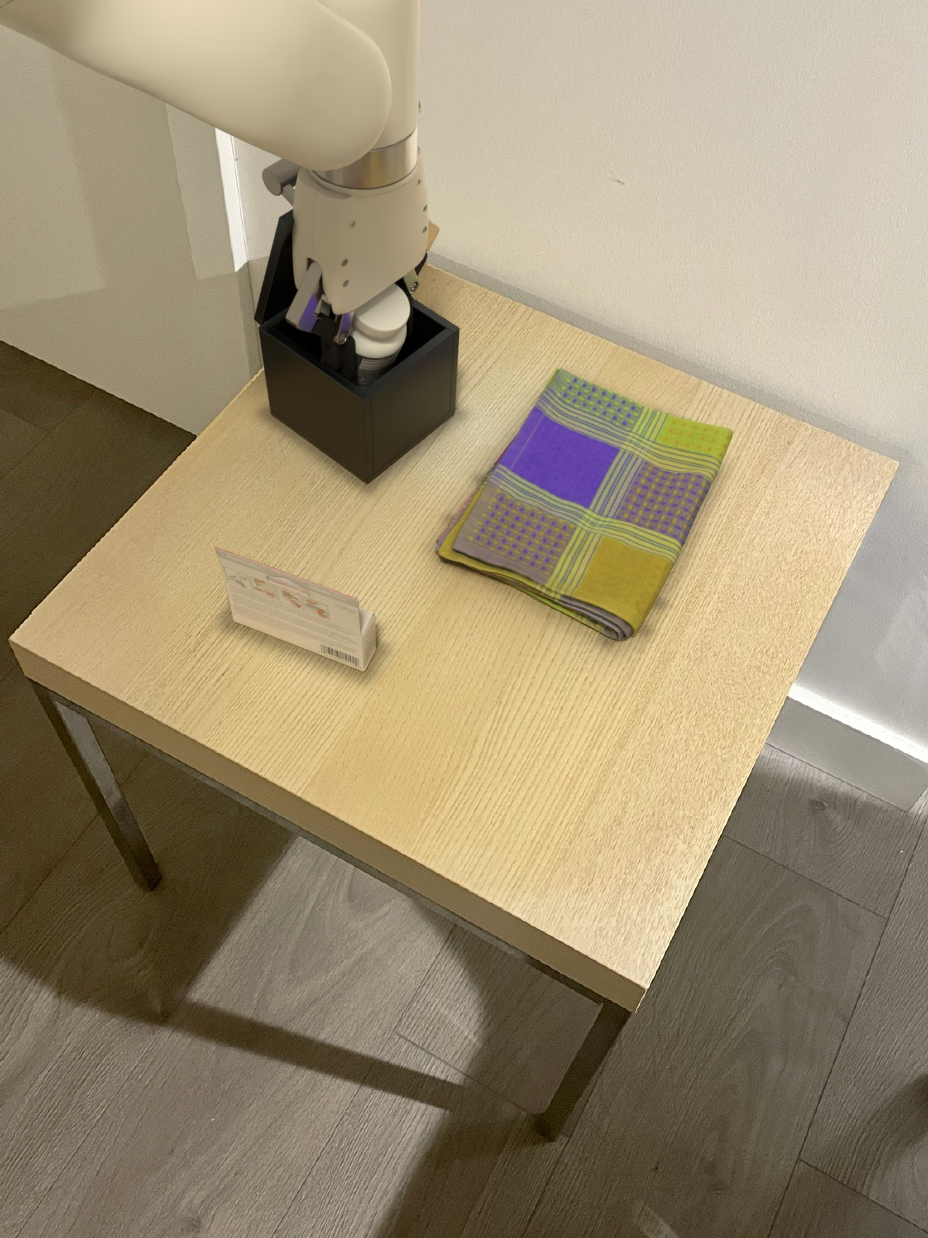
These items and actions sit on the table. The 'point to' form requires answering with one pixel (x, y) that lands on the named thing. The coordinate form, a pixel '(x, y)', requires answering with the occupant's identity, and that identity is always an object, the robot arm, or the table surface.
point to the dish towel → (589, 504)
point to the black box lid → (279, 246)
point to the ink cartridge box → (298, 611)
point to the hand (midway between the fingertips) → (368, 346)
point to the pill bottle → (378, 334)
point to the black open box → (362, 392)
